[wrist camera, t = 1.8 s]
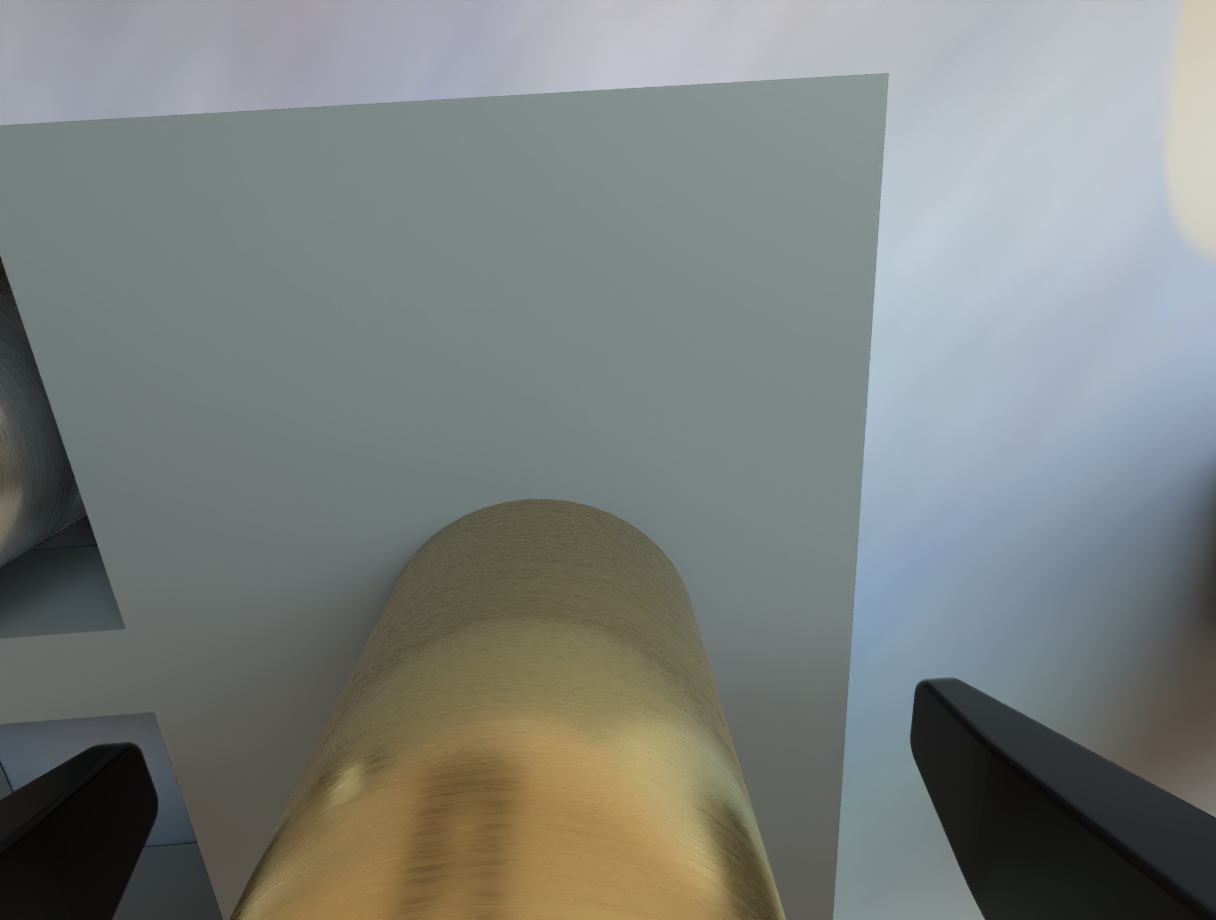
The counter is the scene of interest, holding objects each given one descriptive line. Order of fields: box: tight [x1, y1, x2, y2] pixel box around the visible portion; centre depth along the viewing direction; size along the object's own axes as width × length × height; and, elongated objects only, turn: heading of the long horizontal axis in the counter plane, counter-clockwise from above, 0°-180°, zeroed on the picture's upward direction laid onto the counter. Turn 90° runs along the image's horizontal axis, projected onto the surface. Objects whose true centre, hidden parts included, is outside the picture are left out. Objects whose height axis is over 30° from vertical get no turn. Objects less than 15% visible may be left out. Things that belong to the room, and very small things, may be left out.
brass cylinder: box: [229, 499, 786, 920], centre depth 6 cm, size 4×4×8 cm
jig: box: [0, 73, 889, 920], centre depth 11 cm, size 18×14×3 cm
